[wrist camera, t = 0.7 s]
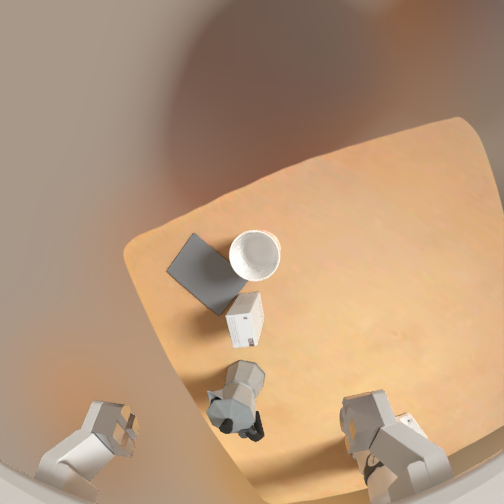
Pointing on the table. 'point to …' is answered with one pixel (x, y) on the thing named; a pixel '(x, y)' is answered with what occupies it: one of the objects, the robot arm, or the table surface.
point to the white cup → (255, 255)
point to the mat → (206, 274)
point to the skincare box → (245, 320)
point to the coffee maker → (238, 401)
